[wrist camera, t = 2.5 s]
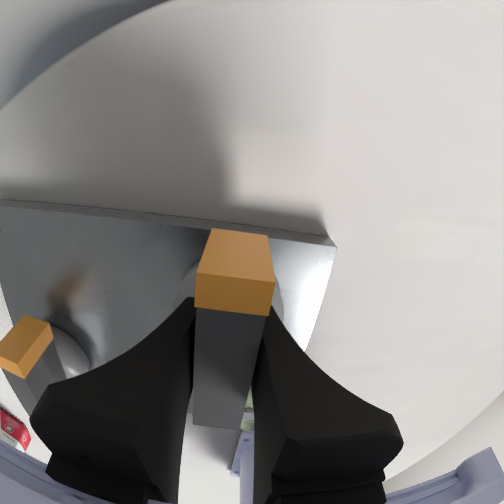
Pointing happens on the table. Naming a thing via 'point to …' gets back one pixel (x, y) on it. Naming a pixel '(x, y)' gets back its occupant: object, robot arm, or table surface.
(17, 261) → the plate
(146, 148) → the table surface
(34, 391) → the knob
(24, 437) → the ink box
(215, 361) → the knob
